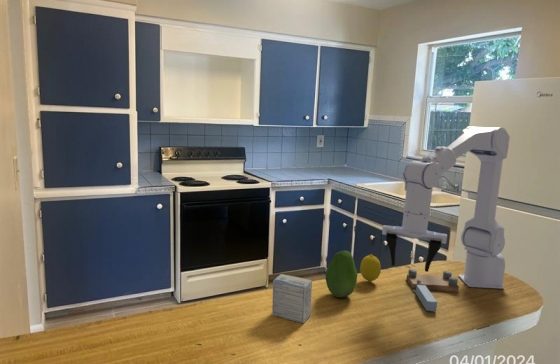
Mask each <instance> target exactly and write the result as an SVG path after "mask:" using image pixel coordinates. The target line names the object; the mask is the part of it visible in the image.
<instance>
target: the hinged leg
mask: <svg viewBox="0 0 560 364" xmlns="http://www.w3.org/2000/svg"><path fill="white" fill-rule="evenodd" d="M415 294H416V296H417V299H418V300H419V301H420V303H421V304H422V306H423V308H424V309H425V311H426V312H437V309H438V300H436V298H435V297H434V296H433V294H432V292H431V290H428V288H427V287H426V286H425V285H417V287H416V293H415Z"/></svg>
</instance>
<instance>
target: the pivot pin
mask: <svg viewBox="0 0 560 364" xmlns="http://www.w3.org/2000/svg"><path fill="white" fill-rule="evenodd" d="M417 285H421V280H419V279H418V280H417ZM417 285H416V287H417ZM412 293H414V294H416V288H414V289H412Z"/></svg>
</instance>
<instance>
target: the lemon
mask: <svg viewBox="0 0 560 364" xmlns="http://www.w3.org/2000/svg"><path fill="white" fill-rule="evenodd" d="M359 268H360V269H359V271H360V274H361V277H362V278H363V279H364V280H366V281H367V282H368V283H371V282H373V281H375V280H377V279H378V278H379V276H380V275H381V270H382V267H381V262H380V260H379V258H378V257H377V256H374V255H373V254H371V253H370V254H368V255H366V256H365V257H363V258H362V260H361V262H360V266H359Z"/></svg>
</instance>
